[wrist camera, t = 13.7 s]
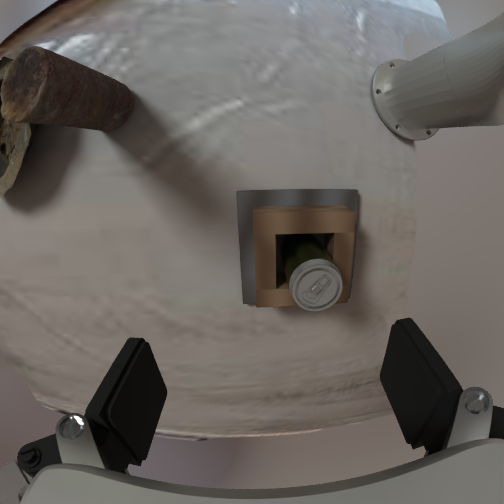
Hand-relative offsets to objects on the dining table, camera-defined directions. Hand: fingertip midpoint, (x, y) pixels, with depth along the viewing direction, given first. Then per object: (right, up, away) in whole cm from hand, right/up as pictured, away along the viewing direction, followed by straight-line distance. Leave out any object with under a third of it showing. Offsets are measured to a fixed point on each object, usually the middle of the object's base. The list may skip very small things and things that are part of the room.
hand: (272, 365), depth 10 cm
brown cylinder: (-20, +25, +22) cm, 39 cm away
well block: (+6, +5, +28) cm, 29 cm away
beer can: (+6, +5, +27) cm, 28 cm away
